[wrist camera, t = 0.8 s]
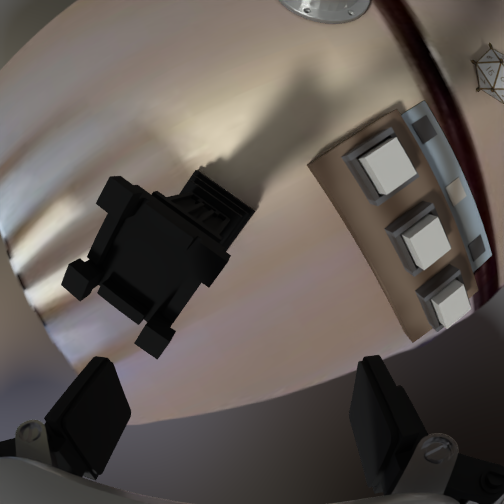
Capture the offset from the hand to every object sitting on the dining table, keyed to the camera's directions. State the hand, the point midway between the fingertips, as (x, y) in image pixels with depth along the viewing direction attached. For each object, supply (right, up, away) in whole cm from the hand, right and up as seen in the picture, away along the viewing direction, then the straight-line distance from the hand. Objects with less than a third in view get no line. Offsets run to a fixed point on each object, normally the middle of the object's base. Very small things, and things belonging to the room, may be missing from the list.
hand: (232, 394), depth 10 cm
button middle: (+19, +7, +18) cm, 27 cm away
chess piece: (-5, +9, +24) cm, 26 cm away
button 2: (+14, +14, +17) cm, 26 cm away
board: (+22, +9, +22) cm, 32 cm away
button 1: (+24, -1, +20) cm, 31 cm away
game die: (+34, +30, +17) cm, 48 cm away
